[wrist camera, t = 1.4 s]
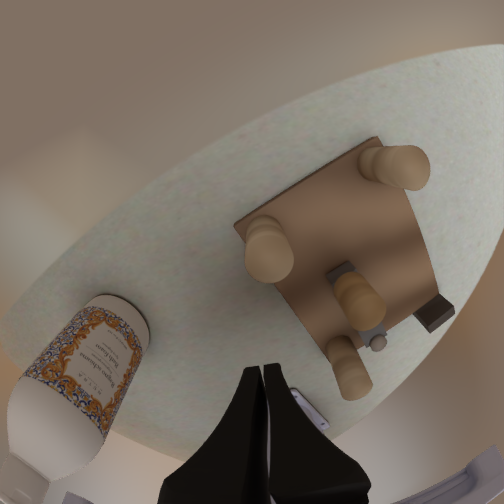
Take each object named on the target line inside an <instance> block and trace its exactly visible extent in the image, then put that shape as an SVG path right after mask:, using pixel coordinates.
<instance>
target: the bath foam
mask: <svg viewBox="0 0 504 504" xmlns="http://www.w3.org/2000/svg"><path fill="white" fill-rule="evenodd" d="M148 344H149V331H148V327H147V325H146V323H145V321H144V319H143V317H142V316H141V315H140V313H139V312H138V311H137V310H136V309H135V308H134V307H133V306H132V305H130V304H129V303H128V302H126V301H124V300H122V299H120V298H118V297H115V296H111V295H101V296H97V297H95V298H93V299H92V300H91V301H89V302H88V303H87V304H86V305H85V306H84V307H83V308H82V309H81V310H80V311H79V312H78V313H77V314H76V315H75V316H74V317H73V318H72V319H71V320H70V321H69V322H68V324H67V325H66V326H65V327H64V328H63V329H62V330H61V331H60V332H59V333H58V334H57V335H56V336H55V338H54V339H53V340H52V341H51V342H50V343H49V344H48V345H47V347H46V348H45V349H44V350H43V351H42V352H41V353H40V354H39V356H38V357H37V358H36V359H35V360H34V361H33V363H32V364H31V365H30V366H29V367H28V369H27V370H26V371H25V372H24V374H23V375H22V376H21V377H20V378H19V380H18V382H17V384H16V385H15V387H14V389H13V391H12V394H11V396H10V400H9V404H8V411H7V426H8V439H9V448H10V454H9V455H8V456H7V458H6V460H5V461H4V463H3V465H2V467H1V469H0V500H1V501H2V502H3V503H5V504H42V503H43V500H44V497H45V495H46V493H47V490H48V487H49V483H51V482H52V481H55V480H57V479H60V478H63V477H65V476H67V475H70V474H72V473H74V472H76V471H78V470H80V469H82V468H83V467H85V466H86V465H87V464H89V463H90V462H91V461H92V460H93V459H94V457H95V456H96V455H97V453H98V452H99V451H100V449H101V447H102V445H103V444H104V442H105V439H106V437H107V434H108V432H109V430H110V427H111V425H112V423H113V421H114V418H115V416H116V414H117V412H118V409H119V407H120V405H121V403H122V400H123V398H124V396H125V394H126V392H127V390H128V387H129V385H130V383H131V381H132V379H133V377H134V375H135V373H136V371H137V368H138V366H139V364H140V362H141V360H142V358H143V356H144V354H145V352H146V350H147V347H148Z"/></svg>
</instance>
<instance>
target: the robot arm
mask: <svg viewBox="0 0 504 504" xmlns="http://www.w3.org/2000/svg"><path fill="white" fill-rule="evenodd" d="M263 377H264V382H263V379H262V375H261V371H260V367H259V366H253V367H246V368H245V369H244V370H243V374H242V377H241V380H240V382H239V385H238V387H237V390H236V392H235V394H234V396H233V399H232V401H231V403H230V405H229V407H228V408H227V410H226V412H225V414H224V416H223V417H222V419H221V421H220V422H219V424H218V425H217V427H216V428H215V430H214V431H213V432H212V434H211V435H210V436H209V438H208V439H207V440H206V441H205V443H204V444H203V445H202V446H201V447H200V448H199V449H198V451H197V452H196V453H195V454H194V455H193V456H192V457H190V458H189V459H188V460H187V461H186V462H185V463H184V464H183V465H182V466H181V467H180V468H178V469H177V470H176V471H175V472H173V473H172V474H171V475H169V476H168V477H167V478H165V479H164V482H163V484H162V487H161V490H160V493H159V498H158V503H157V504H368V503H369V499H368V495H367V493H368V491H369V489H370V488H371V482H370V480H369V478H368V476H367V474H366V473H365V472H364V470H363V469H362V467H361V466H360V465H359V463H358V462H356V461H355V460H354V459H352V458H351V457H349V456H348V455H347V454H345V453H344V452H343V451H341V450H340V449H339V448H338V447H337V446H335V445H334V444H333V443H332V442H331V441H330V440H329V439H328V438H327V437H326V436H325V435H324V432H323V430H325V429H327V428H329V427H330V424H329V423H328V422H327V421H326V420H325V419H324V418H323V417H322V416H321V415H320V414H319V413H318V412H317V411H316V410H315V409H314V407H313V406H312V405H311V404H310V403H309V402H308V401H307V400H306V399H305V398H304V397H303V396H302V395H301V394H300V393H299V392H298V391H297V390H296V389H291V390H290V389H289V387H288V385H287V383H286V381H285V379H284V376H283V374H282V371H281V366H280V364H279V363H273V364H267V365H264V374H263ZM264 383H265V386H264ZM265 389H266V390H265ZM295 395H296V396H295ZM502 491H504V459H503V457H502V455H501V454H500V452H499V450H498V448H497V447H496V445H493V446H491V447H490V448H489V449H487V450H486V451H484V452H483V453H481V454H480V455H478V456H477V457H476V458H474V459H473V460H472V461H471V462H470V463H468V465H467V466H466V467H465V468H464V469H462V470H461V471H459V472H457V473H456V474H454V475H452V476H450V477H448V478H447V479H445V480H443V481H441V482H439V483H437V484H435V485H433V486H431V487H429V488H427V489H425V490H424V491H421V492H419V493H417V494H415V495H412V496H410V497H408V498H405V499H403V500H401V501H398V502H395V503H393V504H487V503H488V502H490V501H491V500H492V499H494V498H495V497H496V496H497V495H499V494H500V493H501V492H502ZM62 504H93V503H92V502H90V501H88V500H86V499H84V498H82V497H80V496H77V495H75V494H73V493H70V492H66V495H65V498H64V500H63V503H62Z"/></svg>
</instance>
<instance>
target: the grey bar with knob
mask: <svg viewBox="0 0 504 504" xmlns="http://www.w3.org/2000/svg"><path fill="white" fill-rule="evenodd" d="M326 277H327V278H328V280H329V282H330V283H331V285H332V287H333V292H334V296H335V298H336V299H337V301H338V303H339V305H340V306H341V308H342V310H343V312H344V314H345V315H346V317H347V319H348V321H349V323H350V325H351V326H352V327H353V328H354V329H355V330H357V331H358V333H359V335H360V337H361V339H362V340H363V342H364V344H365V346H366V348H367V347H369V346H370V347H371V349H372V351H374V352H378V351H381V350H382V349H383V348H384V347H385V346H386V344H387V340H386V338H385V336H386V335H387V333H386V330H385V328H384V326H383V324H382V320H383V318H384V316H385V314H386V304H385V301H384V300H383V299H382V298H381V297H380V295H379V294H378V293H377V292H376V291H375V289H374V288H373V287H372V286H371V285H370V284H369V283H368V281H367V280H366V279H365V278H364V277H363V276H362V275H361V274H360V273H358V271H357V269H356V268H355V267H354V266H353V265H352V263H351V262H350V261H347V262H346V263H344V264H343V265H341V266H339V267H338V268H336V269H335V270H333V271H332V272H330V273H328V274H327V275H326Z"/></svg>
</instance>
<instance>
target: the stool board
mask: <svg viewBox="0 0 504 504" xmlns="http://www.w3.org/2000/svg"><path fill="white" fill-rule="evenodd" d="M429 176H430V163H429V160H428V157H427V155H426V154H425V153H424V151H423V150H422V149H420V148H419V147H417V146H413V145H408V146H386V147H383V145H382V143H381V141H380V140H379V138H378V136H377V137H371V138H370V139H368V140H366V141H365V142H363V143H361V144H360V145H358V146H356V147H355V148H353V149H351V150H349V151H348V152H346V153H344V154H343V155H341V156H340V157H338V158H336V159H335V160H333V161H331V162H330V163H328V164H326V165H325V166H323V167H322V168H320V169H318V170H317V171H315V172H313V173H312V174H310V175H309V176H307V177H305V178H304V179H302V180H301V181H299V182H297V183H296V184H294V185H293V186H291V187H290V188H288V189H286V190H285V191H283V192H282V193H280V194H279V195H277V196H275V197H274V198H272V199H271V200H269V201H268V202H266V203H265V204H263V205H262V206H260V207H258V208H257V209H255V210H254V211H252V212H251V213H249V214H248V215H246V216H245V217H243V218H242V219H240V220H239V221H237V222H236V223H234V228H235V230H236V231H237V232H238V234H239V235H240V237H241V238H242V239H243V241H244V242H245V244H246V248H245V267H246V269H247V271H248V273H249V274H250V276H251V277H253V278H254V279H255V280H257V281H259V282H263V283H274V285H275V286H276V287H277V289H278V290H279V292H280V293H281V294H282V296H283V297H284V299H285V300H286V301H287V303H288V304H289V306H290V307H291V308H292V310H293V311H294V313H295V314H296V316H297V317H298V318H299V320H300V321H301V323H302V324H303V325H304V327H305V328H306V330H307V331H308V332H309V334H310V335H311V337H312V338H313V339H314V341H315V342H316V344H317V345H318V346H319V348H320V349H321V351H322V352H323V354H324V355H325V356H326V358H327V359H328V361H329V362H330V363H331V366H332V369H333V371H334V374H335V377H336V380H337V383H338V386H339V389H340V392H341V395H342V397H343V399H345V400H349V401H351V400H357V399H360V398H362V397H364V396H365V395H366V394H368V393H369V392H370V390H371V389H372V386H373V383H372V381H371V379H370V377H369V375H368V372H367V370H366V368H365V366H364V364H363V362H362V360H361V358H360V356H359V354H358V352H357V349H359V348H360V347H362V346H364V345H365V344H364V342H363V340H362V339H361V337H360V335H359V333H358V331H357V330H355V329H354V328H353V327H352V326H351V325H350V323H349V321H348V319H347V317H346V315H345V314H344V312H343V310H342V308H341V306H340V305H339V303H338V301H337V299H336V298H335V296H334V292H333V287H332V285H331V283H330V282H329V280H328V278H327V277H326V275H327V274H328V273H330V272H332V271H333V270H335V269H336V268H338V267H339V266H341V265H343V264H344V263H346V262H347V261H350V262H351V263H352V265H353V266H354V267H355V268H356V269H357V271H358V273H360V274H361V275H362V276H363V277H364V278H365V279H366V280H367V281H368V283H369V284H370V285H371V286H372V287H373V288H374V289H375V291H376V292H377V293H378V294H379V295H380V297H381V298H382V299H383V300H384V301H385V304H386V314H385V316H384V318H383V320H382V324H383V326H384V328H385V330H386V331H388V330H389V329H391V328H392V327H394V326H395V325H397V324H398V323H400V322H401V321H402V320H404V319H405V318H407V317H408V316H410V315H411V314H413V315H414V316H415V317H416V318H417V319H418V320H419V322H420V323H421V324H422V325H423V326H424V327H425V328H426V330H427V331H428V332H429V333H431V332H433V331H434V330H435V329H437V328H438V327H439V326H441V325H442V324H443V323H444V322H446V321H447V320H448V319H449V318H451V317H452V316H453V315H454V314H455V310H454V306H453V305H452V304H451V303H450V302H449V301H448V300H446V299H445V298H444V297H443V296H442V295H441V294H439V291H438V287H437V283H436V279H435V275H434V272H433V268H432V265H431V261H430V258H429V255H428V252H427V249H426V246H425V243H424V240H423V237H422V234H421V231H420V228H419V225H418V223H417V220H416V217H415V215H414V212H413V210H412V207H411V205H410V202H409V200H408V198H407V195H406V193H405V191H404V189H407V190H411V191H417V190H420V189H421V188H423V187H424V186H425V185H426V183H427V182H428V179H429Z"/></svg>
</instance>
